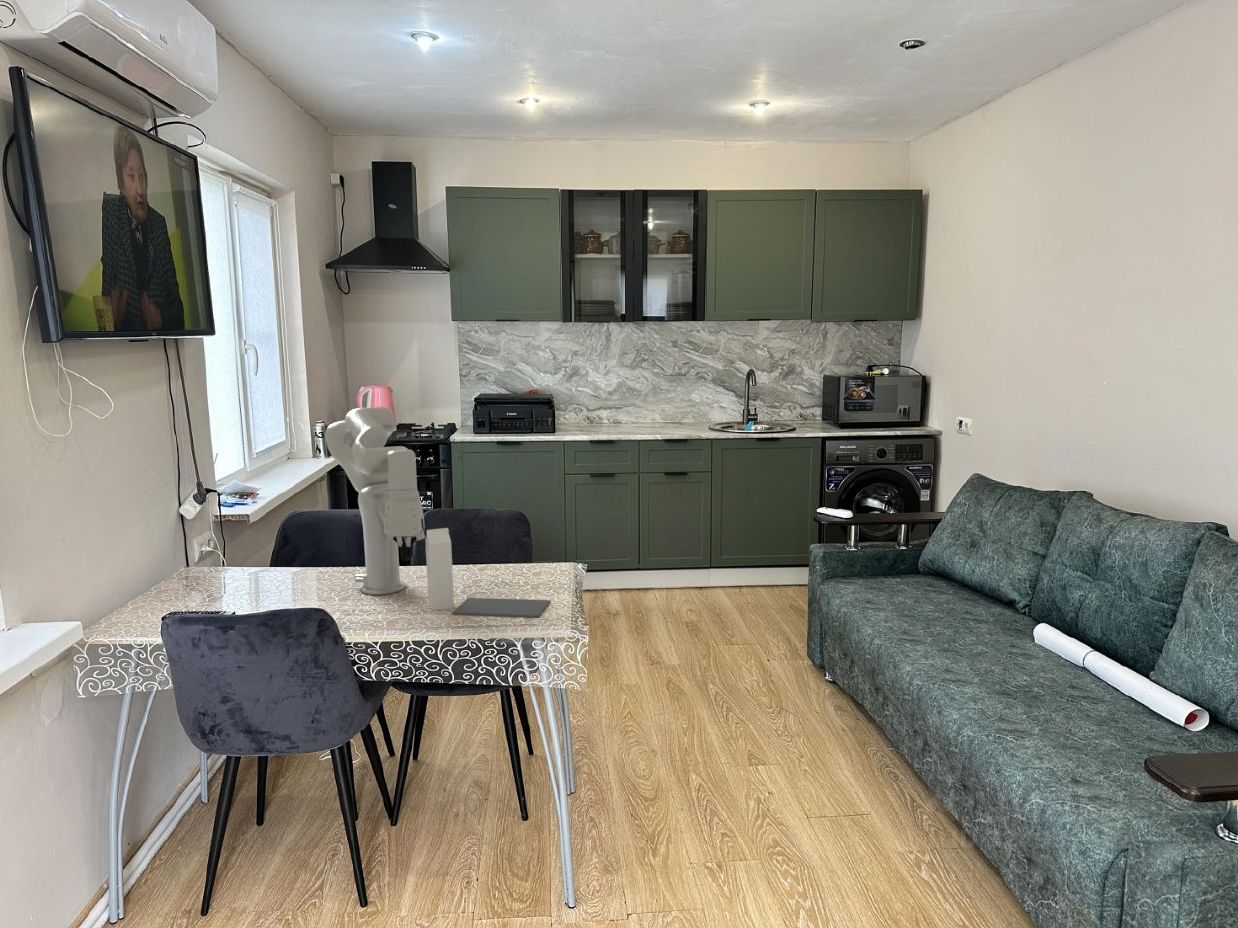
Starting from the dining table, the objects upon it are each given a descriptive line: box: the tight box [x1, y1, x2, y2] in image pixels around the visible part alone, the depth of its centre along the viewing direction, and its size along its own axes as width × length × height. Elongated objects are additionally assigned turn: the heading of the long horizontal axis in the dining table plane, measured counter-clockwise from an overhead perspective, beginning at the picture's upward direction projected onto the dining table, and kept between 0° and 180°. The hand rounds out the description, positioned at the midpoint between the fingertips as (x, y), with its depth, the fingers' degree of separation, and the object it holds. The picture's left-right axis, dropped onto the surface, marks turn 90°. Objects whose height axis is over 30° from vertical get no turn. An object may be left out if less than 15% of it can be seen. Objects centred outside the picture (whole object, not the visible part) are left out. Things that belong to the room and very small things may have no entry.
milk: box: [424, 527, 455, 612], centre depth 216 cm, size 6×6×22 cm
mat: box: [451, 597, 551, 619], centre depth 215 cm, size 24×13×1 cm, turn 82°
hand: (407, 559), depth 217 cm, fingers closed
